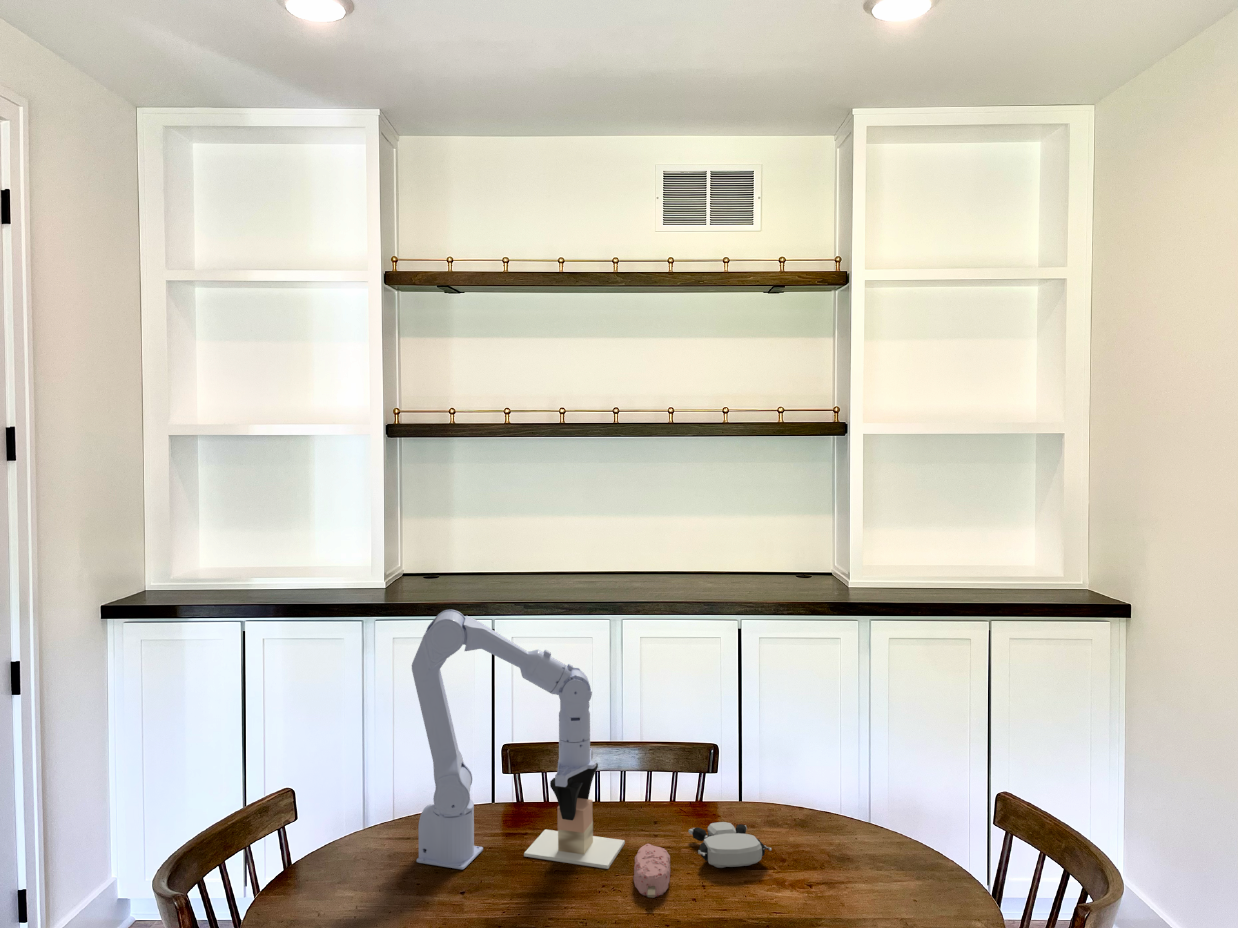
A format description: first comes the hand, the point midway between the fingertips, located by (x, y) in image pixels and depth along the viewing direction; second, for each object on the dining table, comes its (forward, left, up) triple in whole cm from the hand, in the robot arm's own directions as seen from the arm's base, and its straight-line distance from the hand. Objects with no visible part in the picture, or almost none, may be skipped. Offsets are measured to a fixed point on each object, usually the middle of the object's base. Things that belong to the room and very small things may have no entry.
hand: (574, 810), depth 157 cm
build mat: (0, 0, -7) cm, 7 cm away
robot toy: (+27, +6, -8) cm, 29 cm away
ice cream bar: (+17, -8, -8) cm, 20 cm away
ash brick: (0, 0, -7) cm, 7 cm away
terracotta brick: (0, 0, -3) cm, 3 cm away
